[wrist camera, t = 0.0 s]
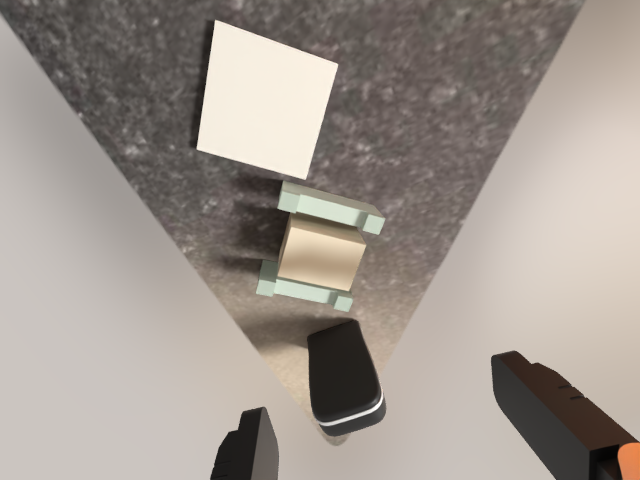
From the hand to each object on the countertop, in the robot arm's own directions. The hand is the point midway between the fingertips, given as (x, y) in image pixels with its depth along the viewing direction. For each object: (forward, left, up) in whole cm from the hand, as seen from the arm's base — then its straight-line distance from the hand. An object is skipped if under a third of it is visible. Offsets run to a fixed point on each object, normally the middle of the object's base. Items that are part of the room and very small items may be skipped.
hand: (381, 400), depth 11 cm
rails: (+3, 0, -22) cm, 23 cm away
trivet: (-8, -7, -22) cm, 25 cm away
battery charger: (+15, +7, -23) cm, 28 cm away
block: (+3, +1, -23) cm, 23 cm away
